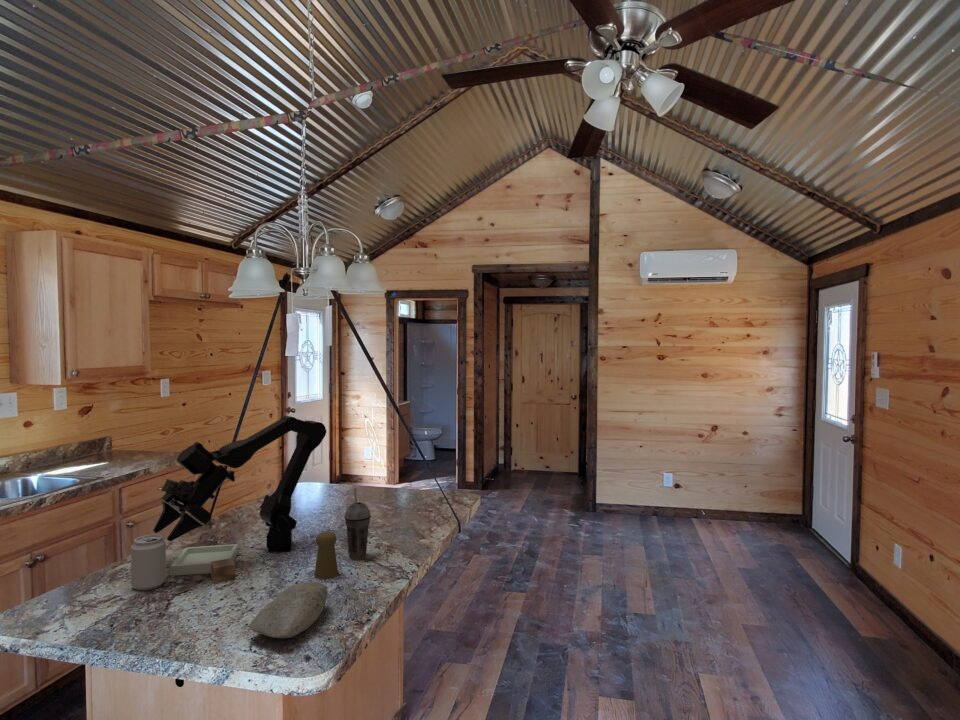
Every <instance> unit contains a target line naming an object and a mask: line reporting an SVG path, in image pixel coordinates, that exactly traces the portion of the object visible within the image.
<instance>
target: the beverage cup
mask: <svg viewBox="0 0 960 720" xmlns="http://www.w3.org/2000/svg"><path fill="white" fill-rule="evenodd" d="M353 489H354V491H353V492H354V502H353V503H351V504H350V505H349V506H348V507H347V508H346V510H345V514H344V522H345V525H346V536H347V537H346V538H347V547H348V549H347V550H348V555H349V557H348V558H349V559H350V560H352V561H360V560H364V559H365V558H366V556H367V549H368V539H369V538H368V537H369V536H368V535H369V525H370V521H371V517H372V516H371V512H370V509H369V507H368V506H367V505H366V504H365V503H363V502H361V501H359V502H358V497H357V495H358V494H357V487H354V488H353Z"/></svg>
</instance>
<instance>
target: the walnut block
mask: <svg viewBox="0 0 960 720" xmlns="http://www.w3.org/2000/svg"><path fill="white" fill-rule="evenodd" d="M210 577H211V580H212V582H213V584H217V583H224V582H227V581H234V580H236V563H235V560H234V561H233V559H232V558H229V559H224V560H218V561H213V562H211V573H210Z"/></svg>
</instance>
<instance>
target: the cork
mask: <svg viewBox="0 0 960 720" xmlns="http://www.w3.org/2000/svg"><path fill="white" fill-rule="evenodd" d="M337 540H338V539H337V535H336V534H335V532H333V531H322V532H320V533H319V534H317V536H316V538H315V543H316V546H317V553H316V560H315V569H314V574H313V576H314V577H315V578H316V579H317V580H329V579H333V578H336V577H337V576H338V575H339V569H338V562H337V554H336V547H335V545H336V543H337Z"/></svg>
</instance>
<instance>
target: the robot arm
mask: <svg viewBox="0 0 960 720" xmlns="http://www.w3.org/2000/svg"><path fill="white" fill-rule="evenodd" d="M289 432H293V433H296V438H295V439H296V443H295V444H296V446H295V448H294V451H293V453H292V455H291V457H290V459H289V461H288V464H287V466H286V467H285V470H284V472H283V474H282V476H281V479H280V481H279V483H278V485H277V487H276V490H275V491H274V492H273V493H272V494H271V495H268V494H266V495H265V496H264V497H263V501H262V503H261V505H260V506H259V509H260V510H259V517H260V519H261V520H262V521H263V522H264V523H265V526H266V527H269V528H268V531H267V533H266V549H267V553H278V552H291V551H292V549H293V546H294V542H293V530H295V529H296V527H297V523H298V522H297V520H296V519H294V517H293V516H291V515H290V513H291V509H292V496H293V494H294V492H295V489H296V487H297V485H298V483H299V481H300V479H301V476H302V475H303V471H304V469H305V467H306V465H307V463H308V461H309V459H310V457H311V454H312V453H313V451H315V449H317V448H318V447H319V446H320V445H321V443H322V441H323V440H324V438H326V437H325V436H326V435H327V429H326V426H325V424H324V423H323V422H319V421H313V420H301V419H299V418H296V417H294V416H290V415H284V416H282V417H281V418H280V419H279V420H277V421H275V422H272V423H271V424H269V425H268V426H266V427H264V428H263V429H261V430H259V431H258V432H256V433H254V434H251V435H250V436H248V437H246V438H244V439H239V440H236V441H233V442H230V443H228V444H227V443H226V444H225V445H222V446H221V447H220V448H219V449H217V450H214V451H213V450H212V451H209V450H208V449H206V448H205V447H204V445H203V444H202V443H200V442H198V441H195V442H194V443H193V444H191V445H190V446H188V447H186V448H185V449H183V450H182V451H181V452H180V453H179V454H178V456H177V458H176V462H177V463H178V464H179V465H181V466H182V467H183V468H184V469H185V470H187V471H188V472H189V473H190V474H192V476H193V475H194V476H195V475H199V476H198V478H196V480H190V481H186V480H183V479H181V480H180V481H176V480H172V479H169V478H166V480H165V483H164V484H163V485H162V489H161V492H165V494H164V495H163V496H162V497H161V505H162V511H161V515H160V516H159V517H158V520H157V521H156V524H155V526H154V528H153V529H152V530H153V531H152V532H153V533H155V534H157V533H160V532H161V531H162V530H164V529H165V528H166V527H168V526H169V525H171V524H173V522H175V521H177V520H178V519H179V521H178V522H177V523H176V525H175V526H174V527H173V529H172V530H171V532H170V533H169V534H168V536H167V537H166V540H167V541H168V542H172V541H174V540H176V539H178V538H180V537H181V536H184V535H186V534H187V533H189V532H192V531H193V530H196V529H197V528H201V527H203V525H205V526H207V525H208V524H209V523H210V521H211V520H212V513H211V512H209V511H208V510H207V509H205V508H204V507H203V506H204V505H205V504H206V503H207V502H208V501H209V499H210V500H213V499H214V498H215V497H216V496H215V494H214V493H215V492H216V491H217V490H218V489H219V488H220V487H221V486H222V484H223V483H224V482H225V481H226V480H228V481H230V482H235V481H236V478H235V471H234V470H231V469H230V470H228V469H227V468H226V467H228V468H232V469H239V468H240V467H241V468H242V467H243V466H244V465H245V464H246V463H247V462H248V461H250V460H251V459H252V458H253V456H254V454H255V453H256V452H258V451H259V450H261V449H262V448H265V447H266V446H268V445H269V444H271V443H273V442H274V441H276V440H277V439H279V438H281V437H283V436H285V435H286V434H288V433H289ZM214 462H215V463H218V464H219V465H216V464H215V463H214ZM224 466H226V467H224Z"/></svg>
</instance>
